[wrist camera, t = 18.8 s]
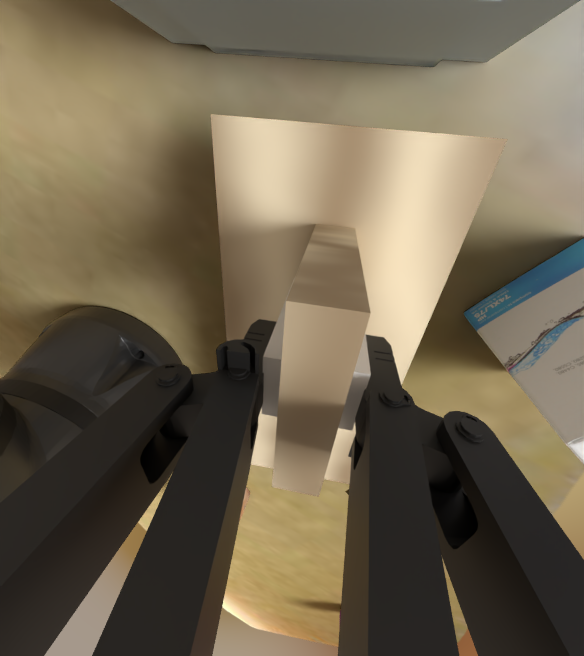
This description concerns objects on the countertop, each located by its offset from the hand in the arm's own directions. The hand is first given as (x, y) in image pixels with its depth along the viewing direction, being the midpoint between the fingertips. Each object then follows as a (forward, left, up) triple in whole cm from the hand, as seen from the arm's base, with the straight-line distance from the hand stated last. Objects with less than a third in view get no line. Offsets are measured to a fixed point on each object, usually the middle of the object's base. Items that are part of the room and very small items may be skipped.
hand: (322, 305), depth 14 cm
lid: (0, -5, -2) cm, 5 cm away
